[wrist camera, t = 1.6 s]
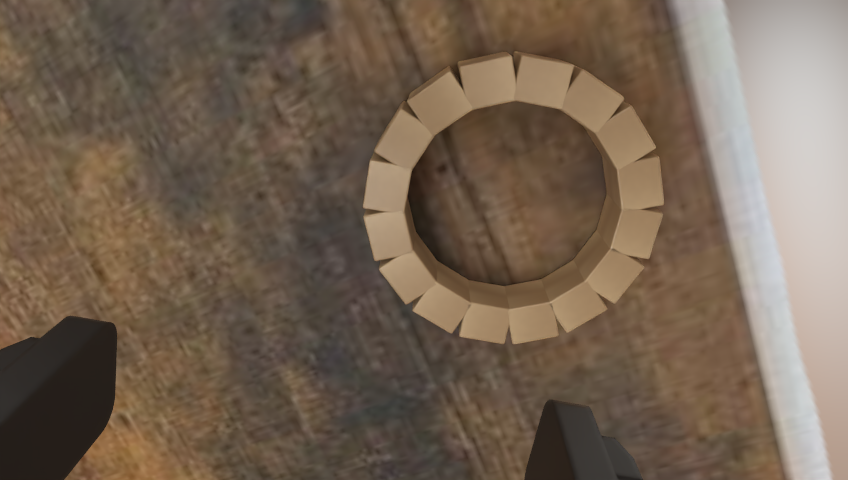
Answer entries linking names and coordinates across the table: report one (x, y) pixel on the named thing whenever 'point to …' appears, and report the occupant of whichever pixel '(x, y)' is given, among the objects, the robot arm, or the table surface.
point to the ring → (567, 286)
